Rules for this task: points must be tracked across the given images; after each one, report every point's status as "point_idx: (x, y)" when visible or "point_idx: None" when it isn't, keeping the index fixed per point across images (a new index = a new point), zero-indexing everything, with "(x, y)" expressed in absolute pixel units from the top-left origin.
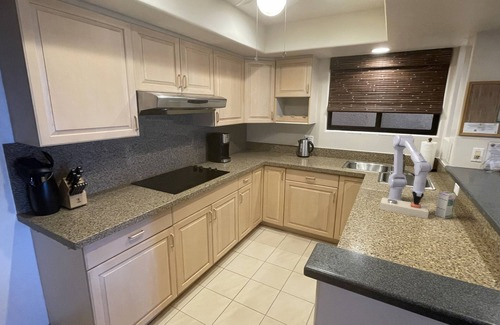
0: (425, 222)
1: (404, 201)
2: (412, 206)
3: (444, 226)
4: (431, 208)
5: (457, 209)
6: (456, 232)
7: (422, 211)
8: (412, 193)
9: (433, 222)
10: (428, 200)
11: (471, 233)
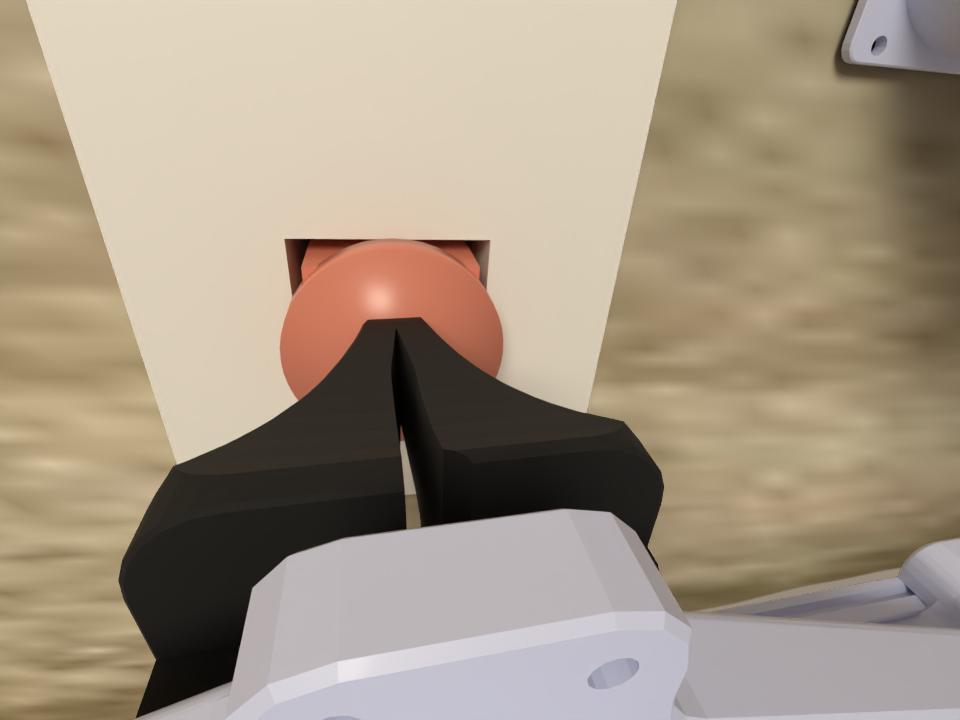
0: (16, 416)
1: (642, 101)
2: (306, 277)
3: (100, 576)
4: (692, 453)
5: (736, 602)
6: (8, 654)
7: (172, 437)
8: (189, 492)
9: (137, 491)
10: (957, 421)
11: (129, 711)
